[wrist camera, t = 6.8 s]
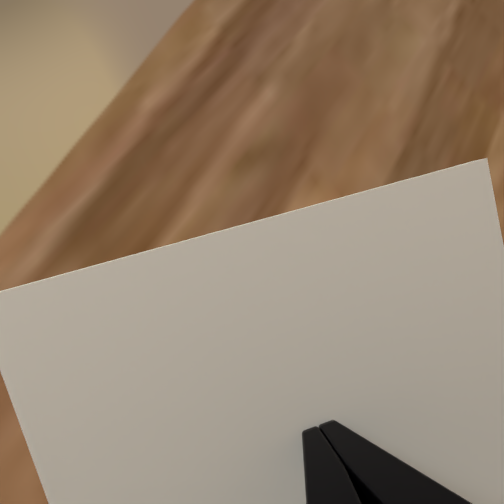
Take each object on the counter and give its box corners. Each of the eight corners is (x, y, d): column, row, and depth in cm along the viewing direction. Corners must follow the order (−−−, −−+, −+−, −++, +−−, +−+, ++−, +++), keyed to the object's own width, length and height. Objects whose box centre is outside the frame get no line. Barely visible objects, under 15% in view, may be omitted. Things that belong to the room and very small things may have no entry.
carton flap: (549, 489, 10) (486, 157, 9) (114, 685, 8) (-26, 299, 7) (531, 476, 10) (470, 161, 9) (119, 658, 8) (-12, 294, 7)
